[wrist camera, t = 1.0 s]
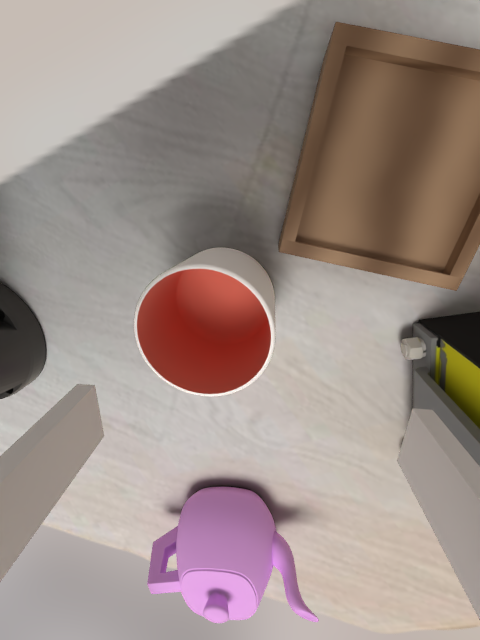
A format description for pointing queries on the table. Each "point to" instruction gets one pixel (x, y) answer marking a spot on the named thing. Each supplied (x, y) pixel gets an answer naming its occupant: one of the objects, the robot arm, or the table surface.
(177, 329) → the cup
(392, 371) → the table surface
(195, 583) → the teapot
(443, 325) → the electrical component
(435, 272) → the wooden tray
